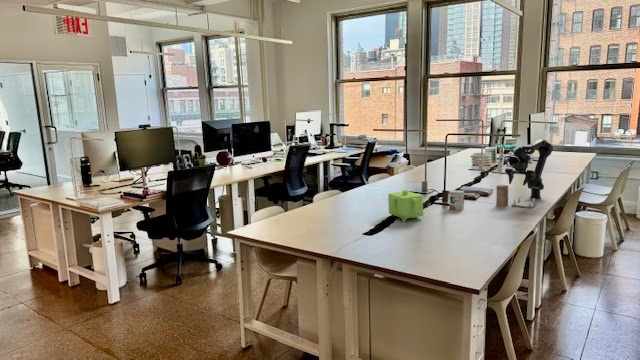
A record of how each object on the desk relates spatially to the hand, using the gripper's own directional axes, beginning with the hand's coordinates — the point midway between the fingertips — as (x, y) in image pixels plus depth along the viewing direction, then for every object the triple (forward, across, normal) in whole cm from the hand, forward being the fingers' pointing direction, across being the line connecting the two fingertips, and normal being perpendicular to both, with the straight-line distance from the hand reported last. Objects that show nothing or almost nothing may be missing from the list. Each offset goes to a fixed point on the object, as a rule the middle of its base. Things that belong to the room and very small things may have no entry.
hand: (516, 184), depth 288 cm
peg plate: (+11, +5, +8) cm, 14 cm away
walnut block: (+15, -6, +1) cm, 16 cm away
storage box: (+49, -32, -54) cm, 79 cm away
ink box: (+29, -22, -21) cm, 42 cm away
